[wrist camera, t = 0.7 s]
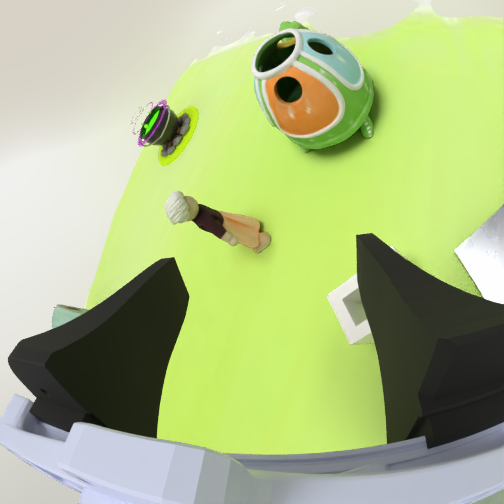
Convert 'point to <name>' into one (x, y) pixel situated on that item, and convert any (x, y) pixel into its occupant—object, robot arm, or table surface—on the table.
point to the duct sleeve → (352, 311)
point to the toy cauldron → (168, 131)
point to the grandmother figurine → (217, 222)
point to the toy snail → (65, 314)
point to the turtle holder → (312, 87)
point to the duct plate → (486, 257)
